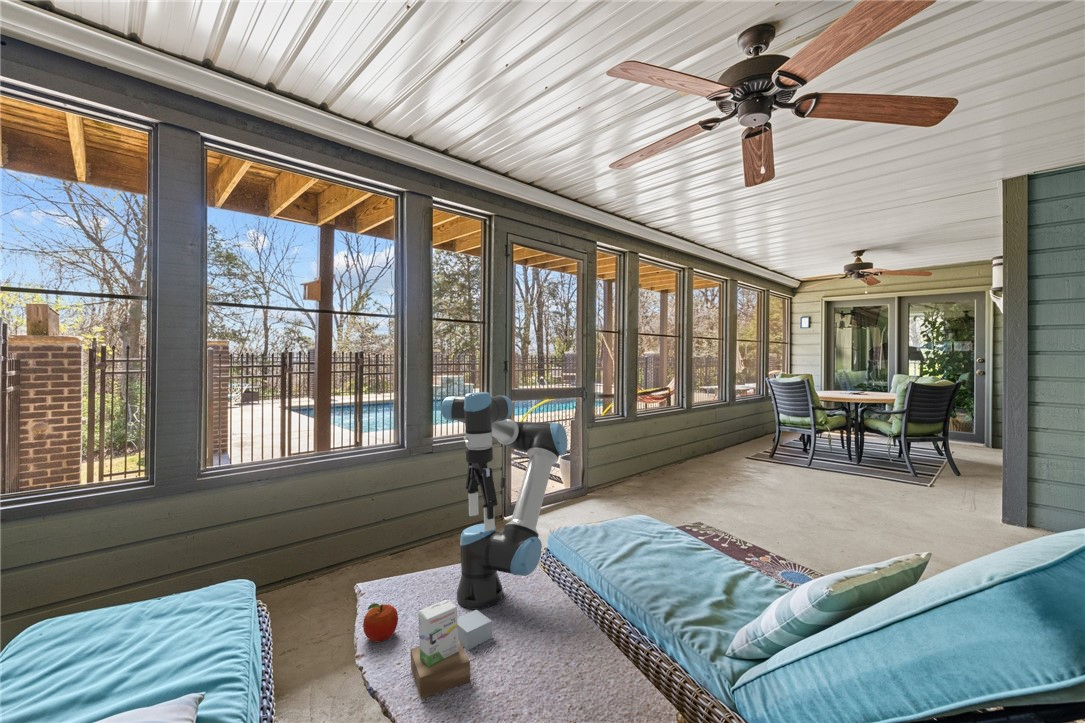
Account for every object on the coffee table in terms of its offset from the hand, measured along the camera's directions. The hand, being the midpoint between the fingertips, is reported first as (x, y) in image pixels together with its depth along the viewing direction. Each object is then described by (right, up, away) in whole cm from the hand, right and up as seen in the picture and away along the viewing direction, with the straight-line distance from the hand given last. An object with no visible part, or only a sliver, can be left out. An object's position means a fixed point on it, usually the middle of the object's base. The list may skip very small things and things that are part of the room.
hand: (481, 522), depth 129 cm
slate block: (-3, -33, +1) cm, 33 cm away
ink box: (-9, -28, -15) cm, 33 cm away
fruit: (-29, -34, +2) cm, 45 cm away
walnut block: (-8, -33, -15) cm, 37 cm away
